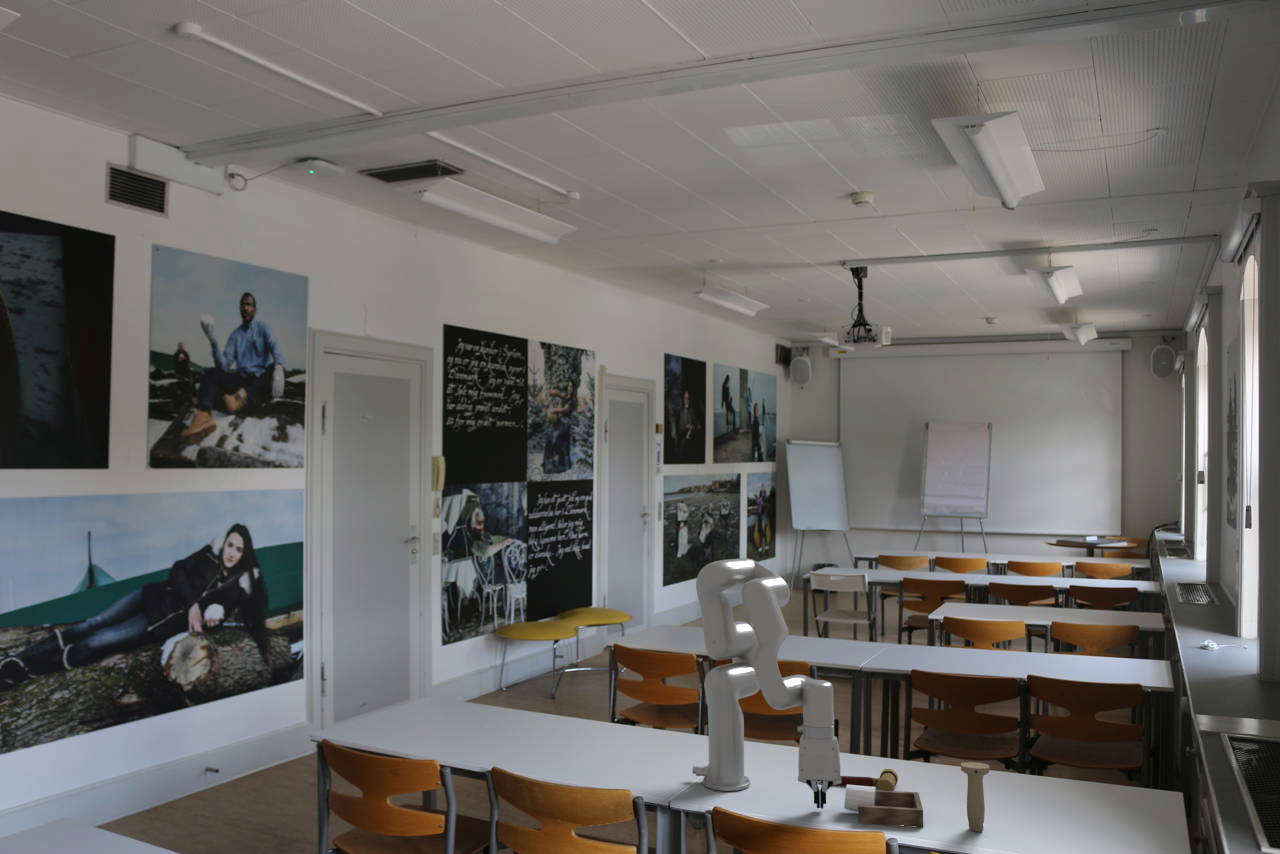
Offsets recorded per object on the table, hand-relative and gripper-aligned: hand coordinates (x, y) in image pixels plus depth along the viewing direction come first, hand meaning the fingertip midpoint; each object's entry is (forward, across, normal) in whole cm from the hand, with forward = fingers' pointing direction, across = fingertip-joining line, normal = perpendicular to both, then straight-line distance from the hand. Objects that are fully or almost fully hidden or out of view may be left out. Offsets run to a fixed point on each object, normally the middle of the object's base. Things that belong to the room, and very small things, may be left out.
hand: (820, 806), depth 246 cm
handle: (+2, +36, -5) cm, 37 cm away
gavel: (+2, +9, +22) cm, 24 cm away
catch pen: (+2, +16, 0) cm, 16 cm away
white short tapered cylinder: (-3, +6, 0) cm, 7 cm away
